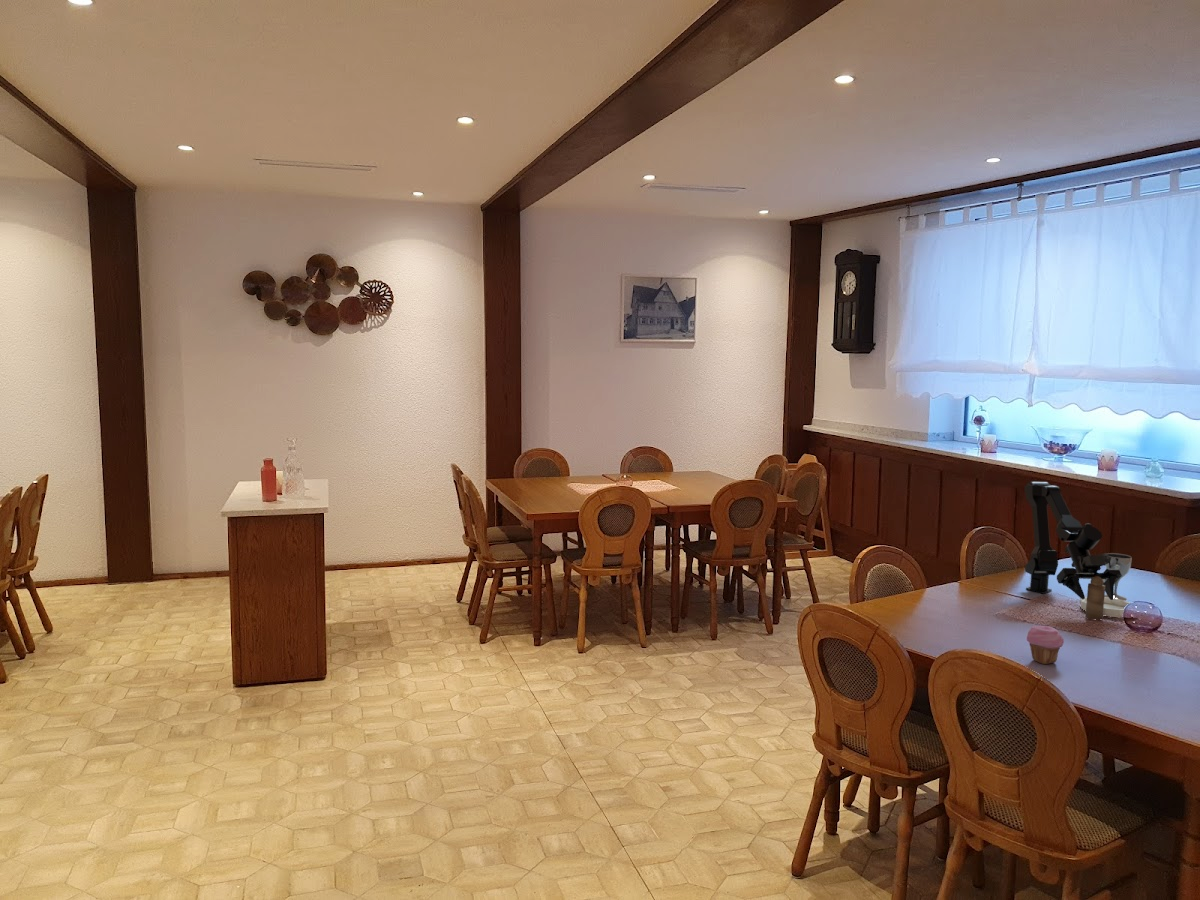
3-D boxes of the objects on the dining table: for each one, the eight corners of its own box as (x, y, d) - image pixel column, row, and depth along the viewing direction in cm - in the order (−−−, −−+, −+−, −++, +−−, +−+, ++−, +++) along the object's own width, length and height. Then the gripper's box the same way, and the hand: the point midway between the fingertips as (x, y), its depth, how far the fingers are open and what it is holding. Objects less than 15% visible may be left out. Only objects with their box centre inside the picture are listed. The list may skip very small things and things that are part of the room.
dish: (1092, 601, 300) (1093, 593, 300) (1144, 613, 288) (1144, 604, 287) (1071, 609, 290) (1072, 601, 290) (1123, 621, 278) (1124, 612, 277)
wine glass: (1123, 601, 301) (1127, 559, 299) (1098, 596, 307) (1102, 555, 305) (1131, 598, 306) (1135, 556, 305) (1106, 593, 312) (1110, 552, 310)
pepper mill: (1089, 615, 283) (1092, 573, 282) (1104, 619, 280) (1108, 577, 278) (1082, 617, 280) (1086, 576, 279) (1098, 621, 277) (1102, 579, 275)
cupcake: (1045, 669, 232) (1048, 632, 231) (1017, 658, 240) (1020, 623, 239) (1068, 665, 236) (1071, 629, 235) (1041, 654, 244) (1043, 620, 242)
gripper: (1064, 543, 281) (1080, 585, 272) (1121, 544, 282) (1139, 587, 272) (1049, 561, 290) (1064, 603, 280) (1104, 562, 290) (1122, 604, 281)
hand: (1098, 599), depth 278 cm, fingers open, 9 cm apart
